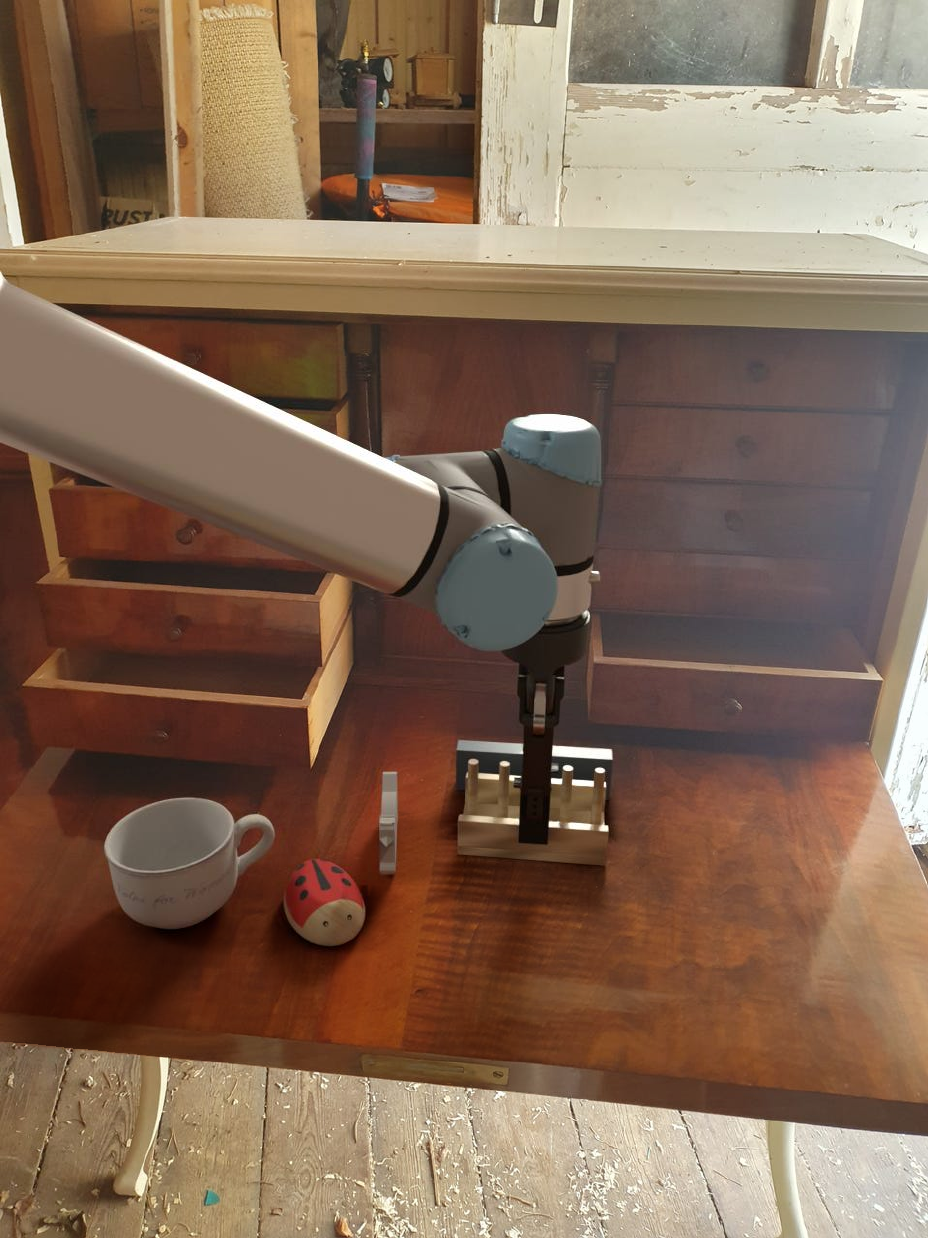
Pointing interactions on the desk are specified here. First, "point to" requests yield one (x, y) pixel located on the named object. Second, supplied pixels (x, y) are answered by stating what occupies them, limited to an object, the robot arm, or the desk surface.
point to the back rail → (497, 752)
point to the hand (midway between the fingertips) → (533, 838)
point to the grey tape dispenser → (388, 823)
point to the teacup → (180, 860)
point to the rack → (571, 818)
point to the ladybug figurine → (323, 903)
